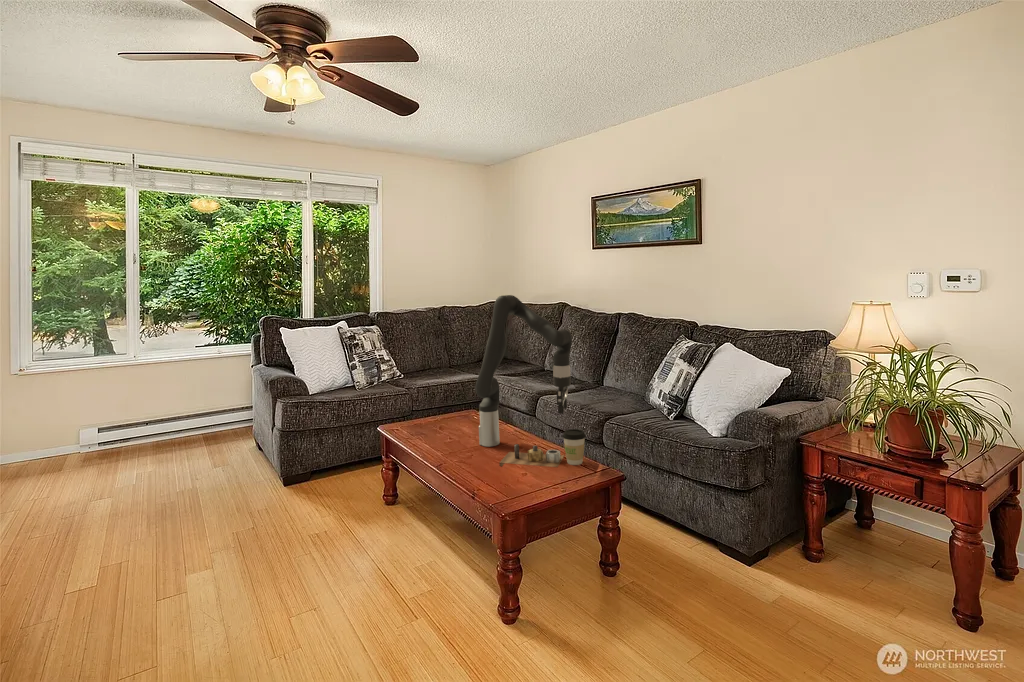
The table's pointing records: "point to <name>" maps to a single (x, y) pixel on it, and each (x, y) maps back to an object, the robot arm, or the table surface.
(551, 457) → the steel gear
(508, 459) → the gear board
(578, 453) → the coffee cup
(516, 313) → the robot arm
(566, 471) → the table surface
